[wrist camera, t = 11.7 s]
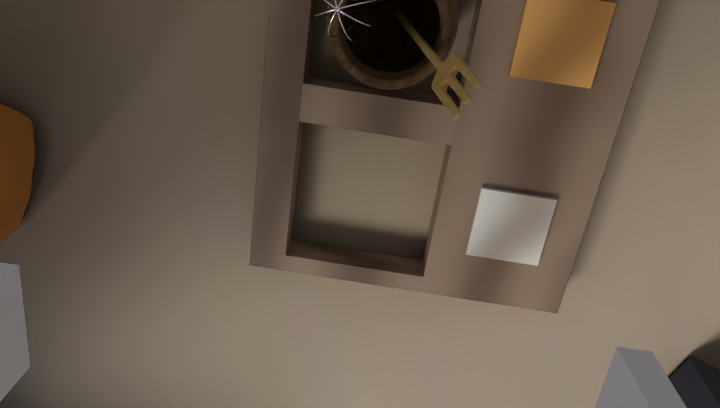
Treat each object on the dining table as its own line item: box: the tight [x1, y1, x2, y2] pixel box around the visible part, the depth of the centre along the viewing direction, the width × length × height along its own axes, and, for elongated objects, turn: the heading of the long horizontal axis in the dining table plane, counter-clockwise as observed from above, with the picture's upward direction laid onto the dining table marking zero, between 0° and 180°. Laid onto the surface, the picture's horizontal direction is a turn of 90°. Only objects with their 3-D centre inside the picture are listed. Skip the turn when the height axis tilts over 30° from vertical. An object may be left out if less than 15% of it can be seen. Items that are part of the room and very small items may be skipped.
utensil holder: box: [315, 0, 482, 119], centre depth 26 cm, size 6×6×12 cm
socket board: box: [250, 0, 660, 313], centre depth 32 cm, size 18×20×2 cm
